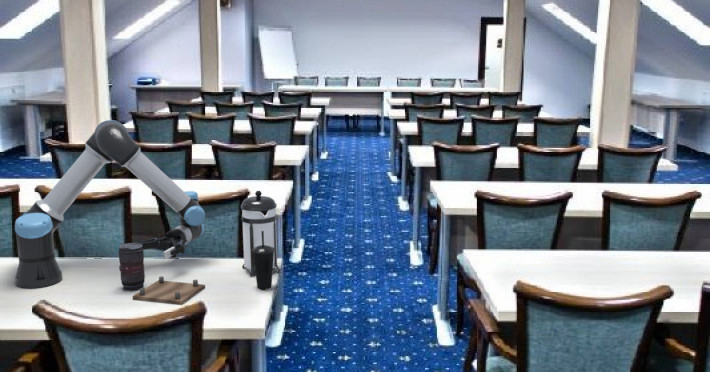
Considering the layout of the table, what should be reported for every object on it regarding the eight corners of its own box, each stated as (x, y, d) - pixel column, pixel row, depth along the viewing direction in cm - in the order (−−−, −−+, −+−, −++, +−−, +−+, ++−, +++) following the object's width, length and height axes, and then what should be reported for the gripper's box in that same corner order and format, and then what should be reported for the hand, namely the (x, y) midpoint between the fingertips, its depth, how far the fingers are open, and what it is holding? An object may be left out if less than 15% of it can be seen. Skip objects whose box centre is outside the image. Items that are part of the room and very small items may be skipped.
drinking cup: (279, 285, 251) (277, 229, 246) (269, 292, 244) (267, 235, 239) (259, 282, 253) (257, 227, 249) (249, 289, 246) (247, 233, 242)
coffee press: (290, 266, 270) (288, 187, 264) (267, 279, 256) (265, 196, 250) (251, 260, 278) (248, 183, 271) (226, 272, 263) (223, 192, 257)
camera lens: (138, 292, 244) (135, 249, 241) (116, 290, 246) (113, 248, 243) (150, 284, 252) (147, 243, 249) (128, 282, 254) (125, 241, 250)
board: (132, 299, 238) (131, 290, 237) (158, 283, 253) (157, 274, 252) (181, 304, 233) (181, 295, 232) (205, 288, 248) (204, 279, 247)
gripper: (207, 249, 273) (179, 267, 254) (149, 244, 280) (117, 261, 260) (206, 230, 272) (178, 246, 252) (148, 226, 279) (115, 241, 259)
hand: (147, 254), depth 256 cm, fingers open, 13 cm apart
